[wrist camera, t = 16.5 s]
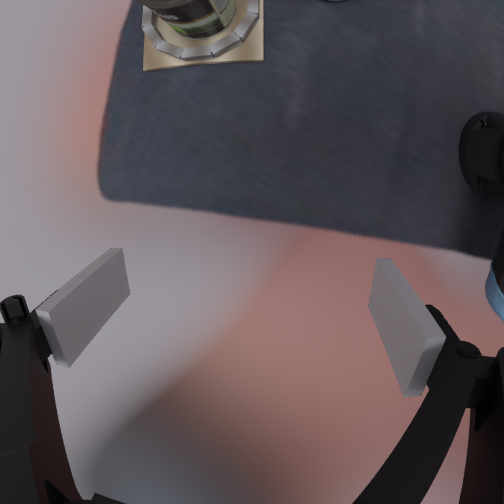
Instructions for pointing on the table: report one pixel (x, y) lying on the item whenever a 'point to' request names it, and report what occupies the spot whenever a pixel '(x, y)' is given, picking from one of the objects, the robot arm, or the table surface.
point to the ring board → (205, 41)
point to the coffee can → (195, 16)
